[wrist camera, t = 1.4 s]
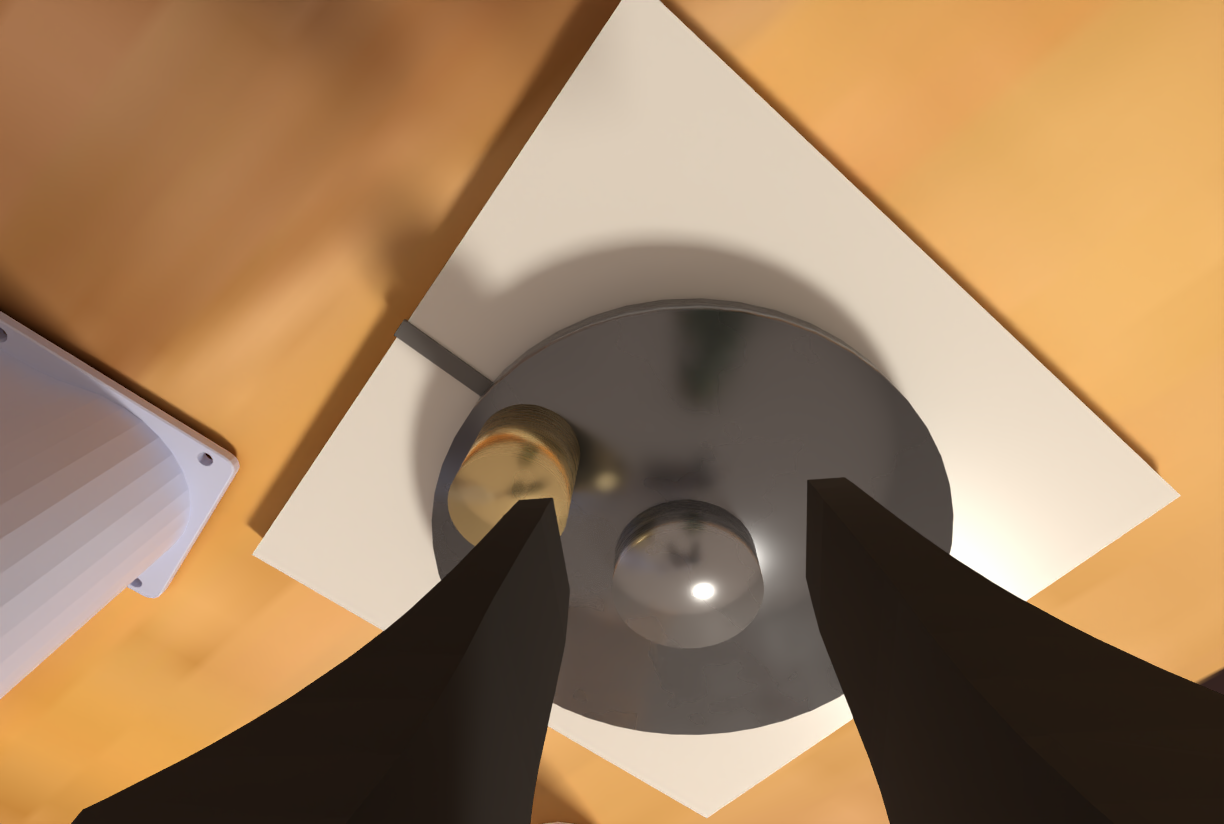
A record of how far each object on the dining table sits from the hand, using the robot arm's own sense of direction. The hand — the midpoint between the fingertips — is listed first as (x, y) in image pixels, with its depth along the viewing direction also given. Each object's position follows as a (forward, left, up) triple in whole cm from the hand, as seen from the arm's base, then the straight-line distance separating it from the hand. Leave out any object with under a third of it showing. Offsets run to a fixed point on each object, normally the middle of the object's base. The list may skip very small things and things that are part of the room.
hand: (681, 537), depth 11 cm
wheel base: (+4, -4, -9) cm, 11 cm away
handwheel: (+4, -4, -8) cm, 10 cm away
